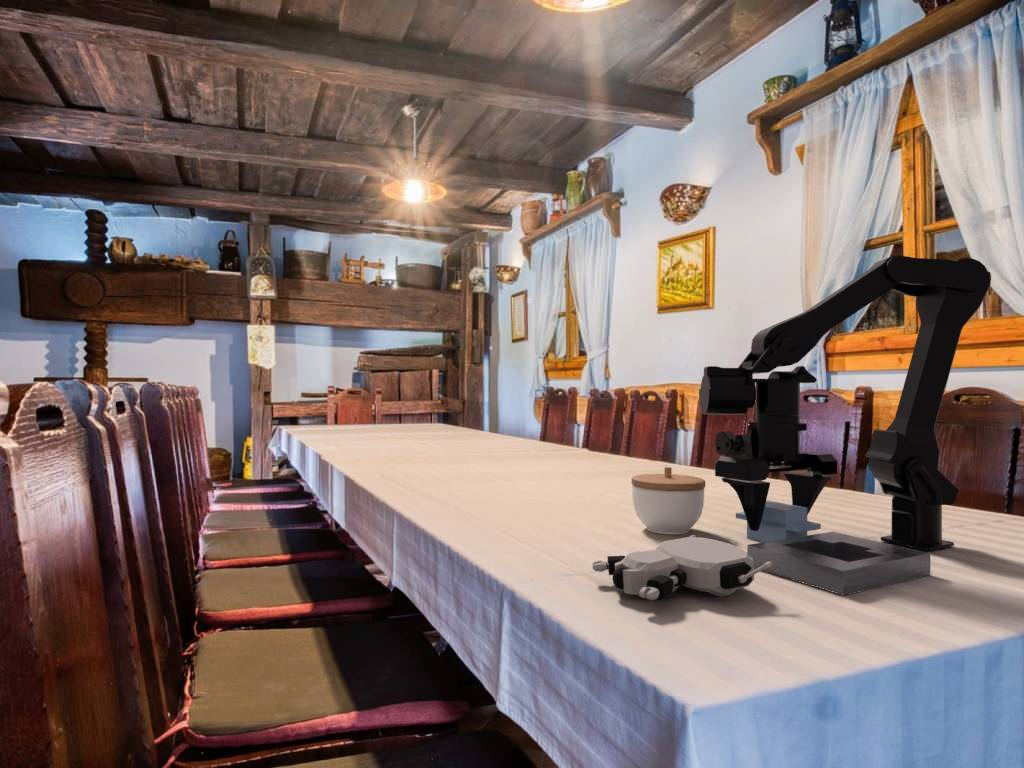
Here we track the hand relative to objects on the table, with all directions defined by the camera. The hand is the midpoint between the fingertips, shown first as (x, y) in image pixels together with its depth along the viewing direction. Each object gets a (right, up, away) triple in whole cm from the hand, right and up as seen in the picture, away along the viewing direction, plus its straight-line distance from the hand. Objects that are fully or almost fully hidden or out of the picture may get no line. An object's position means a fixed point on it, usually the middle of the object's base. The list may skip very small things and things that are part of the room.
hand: (776, 527), depth 86 cm
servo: (0, -2, 0) cm, 2 cm away
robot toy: (-20, -2, -22) cm, 30 cm away
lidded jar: (-14, -2, +6) cm, 15 cm away
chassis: (+1, -2, -14) cm, 14 cm away
